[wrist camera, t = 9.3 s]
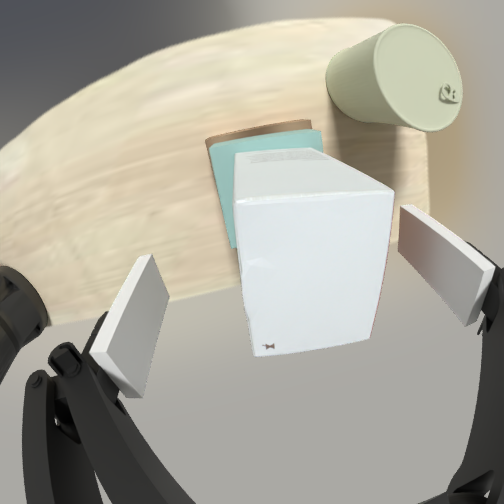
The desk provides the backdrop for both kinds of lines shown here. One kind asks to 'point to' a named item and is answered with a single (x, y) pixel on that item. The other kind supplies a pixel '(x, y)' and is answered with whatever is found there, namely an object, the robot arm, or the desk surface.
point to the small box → (308, 248)
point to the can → (397, 80)
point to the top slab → (226, 150)
